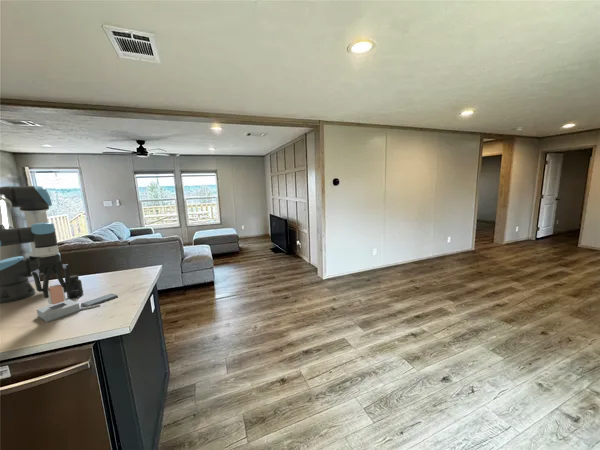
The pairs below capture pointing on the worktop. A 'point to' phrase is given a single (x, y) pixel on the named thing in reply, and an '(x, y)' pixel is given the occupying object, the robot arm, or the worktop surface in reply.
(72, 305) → the outlet plate
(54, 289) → the block
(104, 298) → the phone
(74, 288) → the supplement bottle
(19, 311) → the worktop surface
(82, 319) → the worktop surface
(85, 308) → the cable
